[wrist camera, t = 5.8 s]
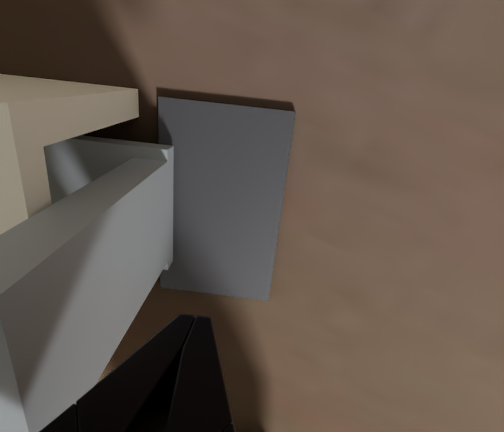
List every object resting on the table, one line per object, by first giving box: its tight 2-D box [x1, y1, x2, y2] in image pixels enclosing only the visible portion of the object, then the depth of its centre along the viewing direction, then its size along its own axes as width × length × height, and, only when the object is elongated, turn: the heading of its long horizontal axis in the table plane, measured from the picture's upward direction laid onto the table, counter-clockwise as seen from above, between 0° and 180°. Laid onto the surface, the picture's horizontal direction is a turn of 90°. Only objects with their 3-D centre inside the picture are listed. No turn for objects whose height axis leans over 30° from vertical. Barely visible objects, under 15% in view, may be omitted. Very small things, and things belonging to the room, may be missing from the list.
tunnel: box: [0, 74, 296, 301], centre depth 13 cm, size 10×15×8 cm
